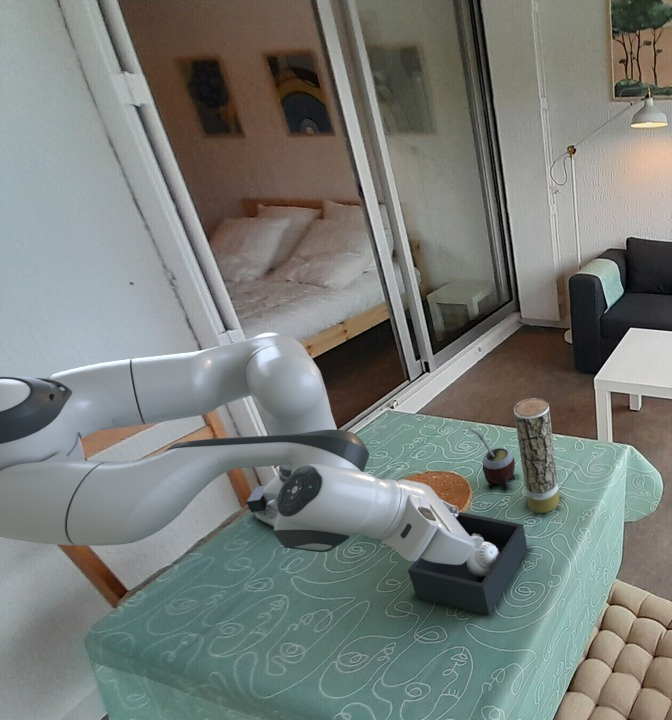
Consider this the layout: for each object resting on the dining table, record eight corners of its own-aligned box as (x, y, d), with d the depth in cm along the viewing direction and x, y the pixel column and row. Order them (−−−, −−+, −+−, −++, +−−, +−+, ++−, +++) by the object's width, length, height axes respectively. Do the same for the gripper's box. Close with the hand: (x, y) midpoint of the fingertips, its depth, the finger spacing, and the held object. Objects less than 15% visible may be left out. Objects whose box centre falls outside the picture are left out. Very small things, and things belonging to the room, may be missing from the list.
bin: (415, 597, 89) (407, 570, 86) (462, 536, 102) (456, 511, 98) (489, 615, 86) (483, 587, 82) (527, 550, 98) (523, 524, 95)
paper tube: (553, 517, 106) (541, 418, 95) (523, 512, 107) (507, 414, 96) (563, 495, 112) (553, 399, 101) (535, 491, 113) (522, 396, 102)
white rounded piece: (475, 542, 95) (492, 527, 91) (497, 565, 95) (514, 552, 91) (452, 565, 90) (468, 550, 86) (475, 590, 90) (493, 576, 86)
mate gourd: (521, 484, 115) (513, 430, 109) (488, 498, 111) (477, 443, 105) (509, 468, 121) (501, 415, 114) (477, 480, 117) (466, 427, 110)
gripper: (367, 496, 85) (435, 511, 96) (411, 568, 72) (484, 576, 82) (388, 464, 86) (453, 482, 96) (435, 529, 72) (505, 542, 83)
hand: (468, 526), depth 89 cm, fingers open, 8 cm apart
